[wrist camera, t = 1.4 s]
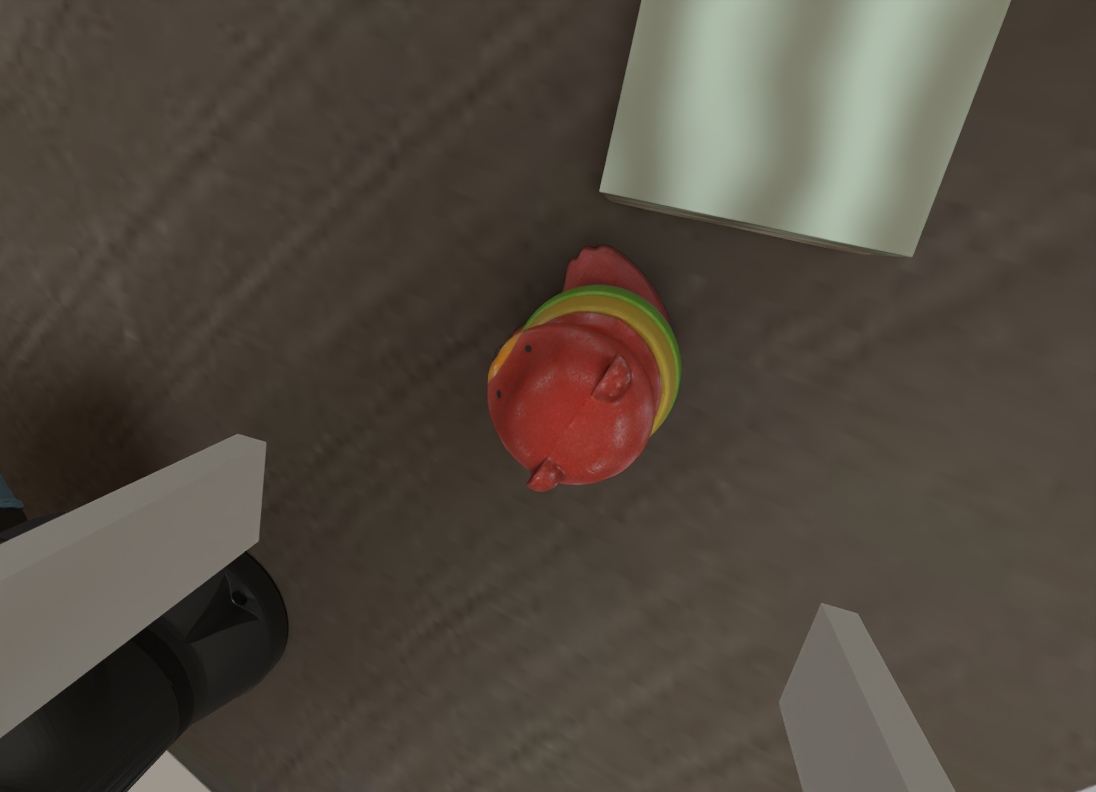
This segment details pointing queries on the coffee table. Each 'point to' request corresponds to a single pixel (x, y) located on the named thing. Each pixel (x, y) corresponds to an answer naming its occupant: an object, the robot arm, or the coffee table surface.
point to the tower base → (798, 114)
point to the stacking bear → (586, 375)
